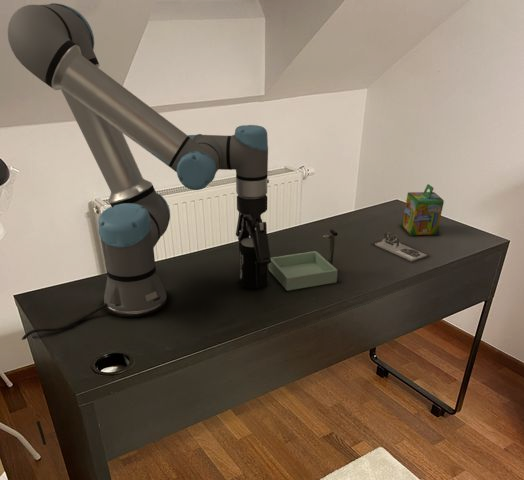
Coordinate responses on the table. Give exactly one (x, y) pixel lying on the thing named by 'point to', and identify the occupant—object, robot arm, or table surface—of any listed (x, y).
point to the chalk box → (422, 212)
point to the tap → (331, 245)
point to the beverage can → (248, 263)
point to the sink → (302, 270)
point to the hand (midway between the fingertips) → (252, 274)
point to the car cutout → (399, 247)
